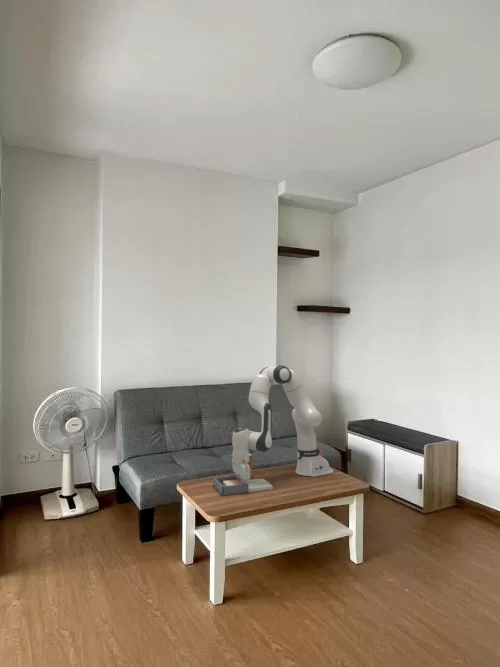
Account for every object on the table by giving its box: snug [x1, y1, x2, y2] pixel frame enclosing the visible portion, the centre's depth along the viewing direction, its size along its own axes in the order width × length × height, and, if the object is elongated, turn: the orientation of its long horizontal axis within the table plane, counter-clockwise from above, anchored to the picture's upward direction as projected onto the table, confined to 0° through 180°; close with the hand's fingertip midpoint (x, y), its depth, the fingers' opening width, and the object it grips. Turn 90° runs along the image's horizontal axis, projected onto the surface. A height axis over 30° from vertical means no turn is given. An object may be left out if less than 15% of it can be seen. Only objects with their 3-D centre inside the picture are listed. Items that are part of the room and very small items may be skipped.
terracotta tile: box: [230, 480, 241, 485], centre depth 250 cm, size 4×12×2 cm, turn 19°
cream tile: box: [223, 480, 234, 486], centre depth 249 cm, size 4×12×2 cm, turn 19°
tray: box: [213, 474, 249, 497], centre depth 249 cm, size 14×18×5 cm
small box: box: [234, 453, 253, 478], centre depth 272 cm, size 8×6×13 cm
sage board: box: [240, 477, 274, 493], centre depth 254 cm, size 14×15×2 cm
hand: (241, 484), depth 251 cm, fingers open, 8 cm apart
